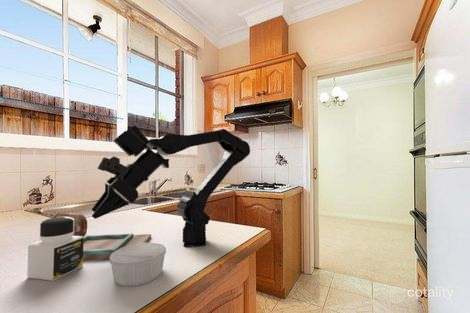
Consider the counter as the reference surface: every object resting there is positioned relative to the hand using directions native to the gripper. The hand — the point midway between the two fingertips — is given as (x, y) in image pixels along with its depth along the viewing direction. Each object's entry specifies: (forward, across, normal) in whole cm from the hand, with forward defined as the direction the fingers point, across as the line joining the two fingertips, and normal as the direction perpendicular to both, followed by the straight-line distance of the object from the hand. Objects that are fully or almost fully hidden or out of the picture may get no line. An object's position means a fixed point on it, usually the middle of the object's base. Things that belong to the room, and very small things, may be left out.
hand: (93, 213), depth 54 cm
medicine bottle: (+14, 0, +4) cm, 14 cm away
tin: (+13, -28, +4) cm, 31 cm away
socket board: (+6, -10, +11) cm, 16 cm away
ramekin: (+3, +12, +15) cm, 19 cm away
